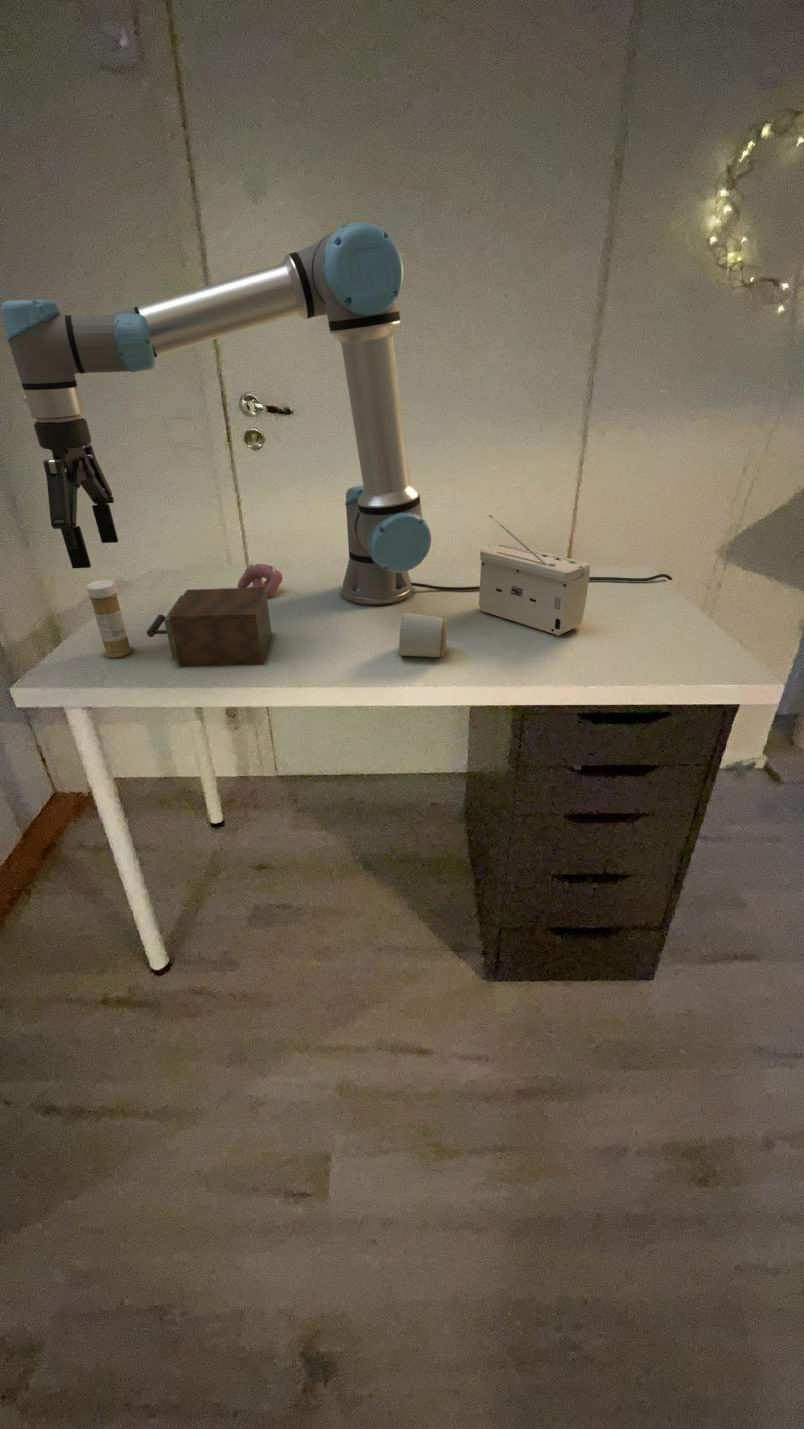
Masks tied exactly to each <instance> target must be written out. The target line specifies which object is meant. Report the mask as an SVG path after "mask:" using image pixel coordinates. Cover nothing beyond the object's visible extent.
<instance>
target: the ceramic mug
mask: <svg viewBox="0 0 804 1429" xmlns="http://www.w3.org/2000/svg"><path fill="white" fill-rule="evenodd" d="M399 627H400V628H399V638H398V640H399V641H398V642H399V643H398V651H399V655H400V656H402V657H403V656H404V657H422V658H423V657H424V658H440V657H443V656H444V655H445V653H446V646H447V638H448V637H447V636H448V620H447V619H446V618H444V617H441V616H437V615H428V614H427V615H426V614H419V613H411V612H403V614H402V616H401V620H400V626H399Z"/></svg>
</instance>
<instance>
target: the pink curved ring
mask: <svg viewBox="0 0 804 1429" xmlns="http://www.w3.org/2000/svg"><path fill="white" fill-rule="evenodd" d="M263 579H266V580H263ZM282 582H283V573H282V572H281V571H280V570H277V569H276V567H274V566H272V565H269V564H266V563H257V564H256V563H254V564H251V563H250V564H249V566H248V567H246V568H245V570H244V571H243V574H242V575H241V577H240V578H239V580H238V582H237V588H249V586H250V585H251V583H252V588H266V594H267V599H270V598H272V597H273V596H274V595H275V594H276V593H277V591H278V589H279V587H280V585H281V584H282Z"/></svg>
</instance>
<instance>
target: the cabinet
mask: <svg viewBox="0 0 804 1429" xmlns="http://www.w3.org/2000/svg"><path fill="white" fill-rule="evenodd" d="M181 596H182V598H181V599H180V601H179V602H178V604H177V605H176V607H175V608H174V610H173V611H172V613H171V614H170V616H169V618H170V623H171V627H172V632H173V637H174V641H175V646H176V651H177V655H178V660H177V661H178V664H179V667H207V666H209V667H210V666H214V667H215V666H242V665H263V664H264V661H265V657H266V654H267V650H268V648H269V645H270V641H271V638H272V627H271V617H270V609H269V603H268V597H267V594H266V588H263V587H262V588H254V587H247V588H238V587H233V588H203V589H199V588H197V589H186V591H185V592H184V593H183V594H182V595H181Z"/></svg>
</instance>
